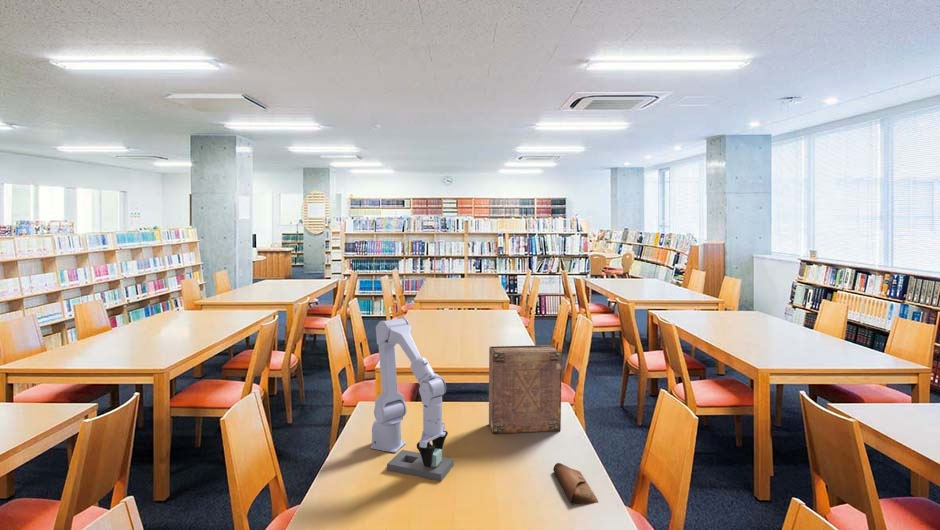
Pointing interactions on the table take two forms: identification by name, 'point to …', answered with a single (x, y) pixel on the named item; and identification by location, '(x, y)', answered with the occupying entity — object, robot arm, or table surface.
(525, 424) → the book
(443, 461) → the grey peg board
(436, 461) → the plug
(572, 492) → the sunglasses case
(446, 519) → the table surface
